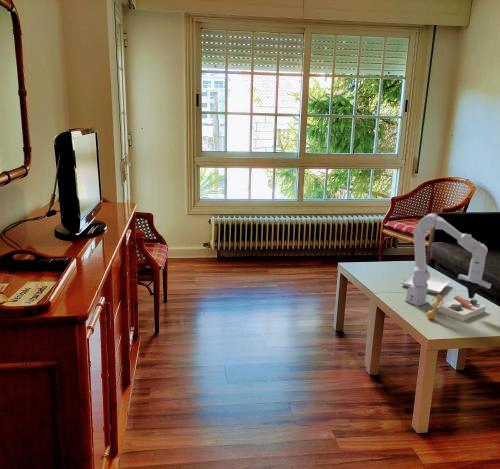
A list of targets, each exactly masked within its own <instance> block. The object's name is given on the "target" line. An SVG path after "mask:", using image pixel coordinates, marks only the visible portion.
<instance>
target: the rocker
mask: <svg viewBox="0 0 500 469" xmlns="http://www.w3.org/2000/svg"><path fill="white" fill-rule="evenodd" d="M463 298H464V297H461V296H459V295H455V296H454V298H453V300H456V301H458V302H459V303H461V304H463V305H464V306H466V307H467V308H471V307H472V306H473V305H472V304H471V303H469V302H468V301H466V300H464V299H463Z"/></svg>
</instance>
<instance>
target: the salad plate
mask: <svg viewBox="0 0 500 469" xmlns="http://www.w3.org/2000/svg"><path fill="white" fill-rule="evenodd" d="M413 276H414V271H412V272H410V273H409V274H408V275H407V276H405V277H404V278H403V279H401V280H400V281H399V282H400V284H401V285H403V286H405V287H407V288H409V287H411V286H412V283H413V281H412V278H413ZM450 283H451V281H449V280H446V279H442V278H438V277H436V276H432V275H430V278H429V280H428V281H427V284H428V288H427V293H430V294H435V295H436V294H437V295H438V294H440V293H441V292H443V290H444V289H445V287H447V285H449V284H450Z"/></svg>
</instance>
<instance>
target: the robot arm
mask: <svg viewBox="0 0 500 469" xmlns="http://www.w3.org/2000/svg"><path fill="white" fill-rule="evenodd" d="M433 228H434V230H443V232H445V233H447V234H449V235H450V236H451V237H452V238H454V239H456V240H457V244H458V245H460V246H462V248H464V249H465V250H467V251H468V252H470V253H471V255H472V257H471V259H470V264H469V268H468V269H469V270H468V275H464V274H462V273H461V274H458V277H457V279H458V280H463V281H465V282H466V283H465V286H466V289H467V293H468V295H467V296H468V299H471V300H472V299H474V298H475V296H476V293H477V291H478V290H479V289H480V288H481V287H484V288H486V289H491V288H492V287H491V286H492V283H489V282H487V281H486V280H483V274H484V269H485V266H486V265H485V264H486V257H487V253H488V251H489V250H488V247H487V246H486V245H485V243H481V241H478V240H476V239H475V238H474V237H472V236H473V235H471V234H470V233H469V234H468V233H463V232H460V231H459V230H458V229H456V228H455V227H454V226H453V225H451V224H450V223H449V222H447V220H445V219H444V218H443V217H441V216H439V215H438V214H436V213H433V212H431V213H428V214H427V215H426V216H423V217H422V218H420V220H419V221H418V222H417V224H416V225H415V227H414V229H413V246H414V270H413V272H414V276H413V278H412V281H413V283H412V286H411V287H407V291H406V298H405V299H404V300H403V301H404V302H407V303H409V304H411V305H413V306H417V307H420V306H423V305H425V304H426V305H427V304H428V303H430V301H429V300H427V293H428V292H427V288H428V284H427V281H428V280H429V278H430V276H431V275H430V273H429V270H428V266H427V253H426V233H427V232H428V231H429V230H432V229H433Z"/></svg>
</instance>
